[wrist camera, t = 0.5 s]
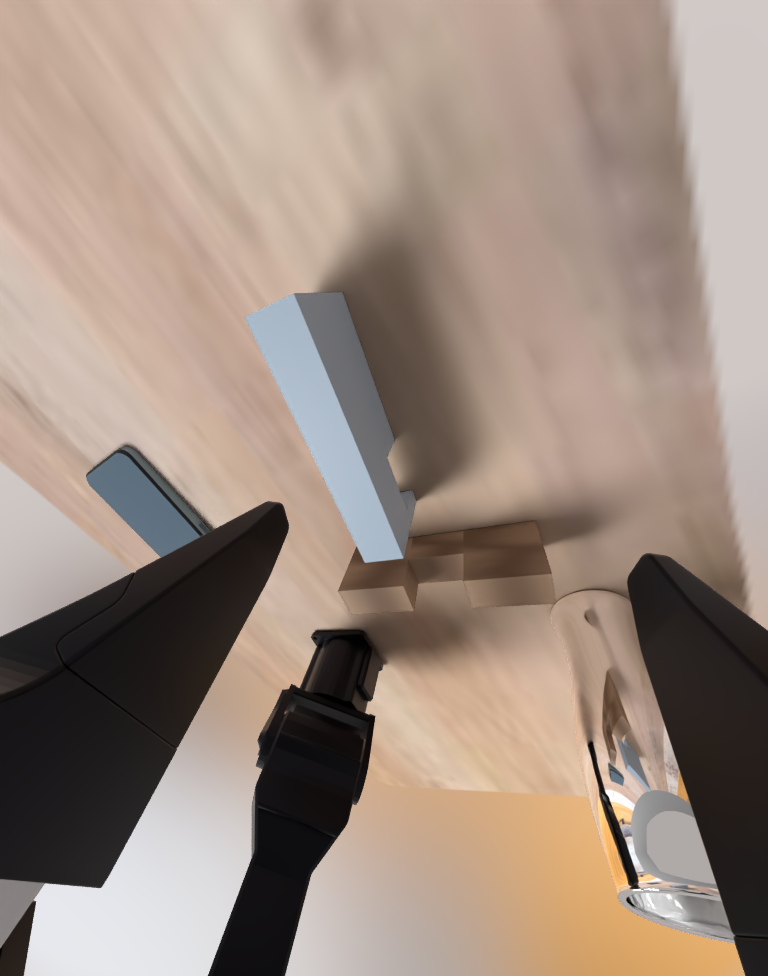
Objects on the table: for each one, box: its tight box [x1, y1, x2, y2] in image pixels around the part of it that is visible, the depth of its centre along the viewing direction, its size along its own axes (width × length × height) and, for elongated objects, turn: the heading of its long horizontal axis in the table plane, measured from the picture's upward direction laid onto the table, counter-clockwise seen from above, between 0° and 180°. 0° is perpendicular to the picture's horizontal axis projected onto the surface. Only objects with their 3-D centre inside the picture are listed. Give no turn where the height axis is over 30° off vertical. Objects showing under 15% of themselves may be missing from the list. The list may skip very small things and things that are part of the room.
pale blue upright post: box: [245, 292, 416, 563], centre depth 18 cm, size 2×14×6 cm, turn 20°
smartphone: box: [86, 447, 210, 557], centre depth 31 cm, size 8×2×15 cm
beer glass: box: [550, 590, 735, 943], centre depth 19 cm, size 7×7×15 cm
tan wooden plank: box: [338, 521, 556, 614], centre depth 23 cm, size 14×2×5 cm, turn 110°
